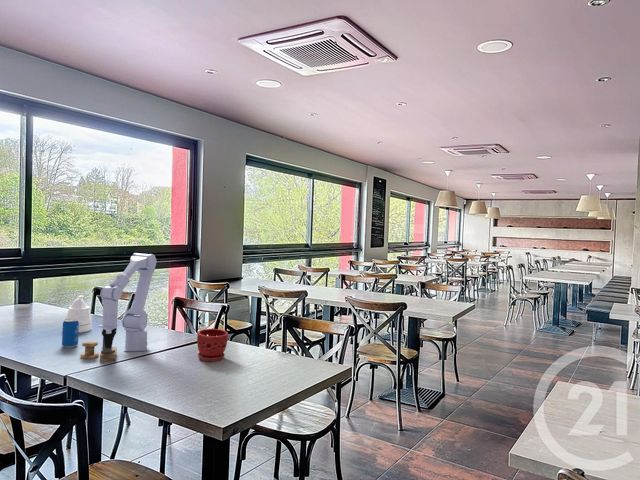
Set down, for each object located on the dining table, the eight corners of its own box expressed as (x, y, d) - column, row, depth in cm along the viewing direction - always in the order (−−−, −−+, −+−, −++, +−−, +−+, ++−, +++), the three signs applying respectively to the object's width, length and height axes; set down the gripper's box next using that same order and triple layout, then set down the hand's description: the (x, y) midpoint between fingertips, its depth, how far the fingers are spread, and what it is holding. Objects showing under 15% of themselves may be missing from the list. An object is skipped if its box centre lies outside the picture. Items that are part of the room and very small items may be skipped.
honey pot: (96, 329, 249) (97, 295, 248) (72, 333, 238) (73, 298, 237) (82, 325, 255) (83, 292, 255) (58, 329, 245) (59, 295, 244)
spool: (99, 354, 206) (99, 340, 206) (97, 358, 200) (98, 344, 200) (81, 354, 204) (81, 340, 204) (79, 359, 197) (80, 345, 197)
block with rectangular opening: (116, 353, 208) (116, 346, 208) (115, 361, 197) (115, 354, 197) (101, 354, 206) (101, 347, 206) (99, 362, 195) (100, 355, 195)
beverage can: (71, 348, 212) (72, 322, 212) (58, 347, 213) (59, 320, 213) (81, 345, 218) (82, 319, 218) (68, 343, 220) (69, 318, 219)
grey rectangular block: (111, 350, 202) (112, 334, 202) (111, 352, 199) (112, 336, 198) (102, 350, 201) (103, 334, 200) (102, 352, 197) (103, 336, 197)
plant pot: (190, 360, 205) (191, 332, 205) (207, 353, 217) (209, 327, 217) (215, 365, 200) (216, 336, 200) (232, 357, 213) (233, 331, 212)
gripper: (100, 311, 205) (99, 342, 205) (98, 318, 191) (97, 351, 192) (118, 311, 207) (117, 342, 208) (117, 318, 194) (115, 351, 194)
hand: (108, 346), depth 200 cm, fingers closed on grey rectangular block, 3 cm apart
